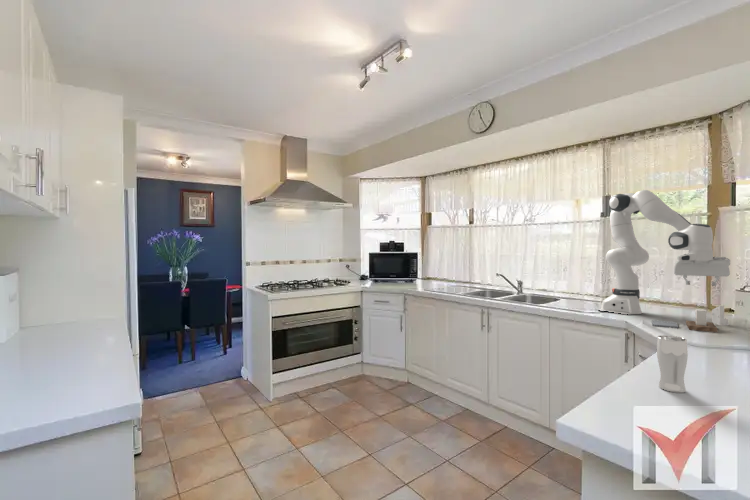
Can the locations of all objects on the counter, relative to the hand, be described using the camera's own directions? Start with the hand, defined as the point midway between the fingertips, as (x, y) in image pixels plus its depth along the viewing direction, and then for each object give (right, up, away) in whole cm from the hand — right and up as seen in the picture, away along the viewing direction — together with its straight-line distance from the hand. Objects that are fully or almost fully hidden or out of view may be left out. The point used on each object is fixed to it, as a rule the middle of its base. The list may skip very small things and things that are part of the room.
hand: (700, 285), depth 176 cm
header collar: (0, -21, 0) cm, 21 cm away
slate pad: (-11, -21, +9) cm, 25 cm away
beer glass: (-72, -24, -71) cm, 104 cm away
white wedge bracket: (+17, -21, +8) cm, 28 cm away
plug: (0, -21, 0) cm, 21 cm away
